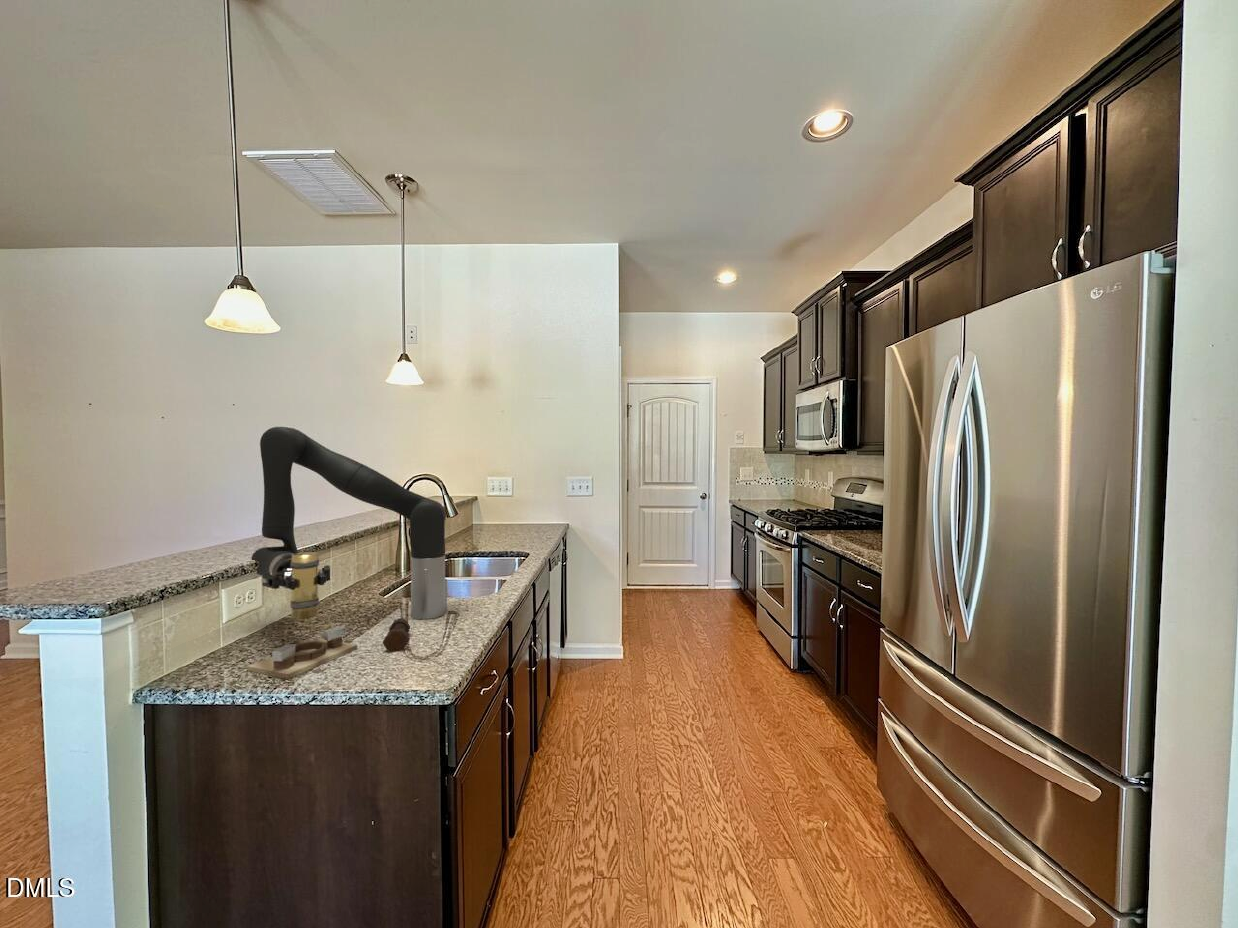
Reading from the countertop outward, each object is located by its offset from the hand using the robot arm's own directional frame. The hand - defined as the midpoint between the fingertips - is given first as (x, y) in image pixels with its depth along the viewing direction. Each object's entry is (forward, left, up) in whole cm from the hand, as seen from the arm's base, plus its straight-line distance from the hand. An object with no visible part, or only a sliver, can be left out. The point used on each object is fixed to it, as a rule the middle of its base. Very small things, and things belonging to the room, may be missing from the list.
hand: (308, 582), depth 107 cm
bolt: (-17, +9, -18) cm, 27 cm away
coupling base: (-1, -2, -18) cm, 18 cm away
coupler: (-1, -2, -8) cm, 8 cm away
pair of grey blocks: (-1, -1, -15) cm, 15 cm away
